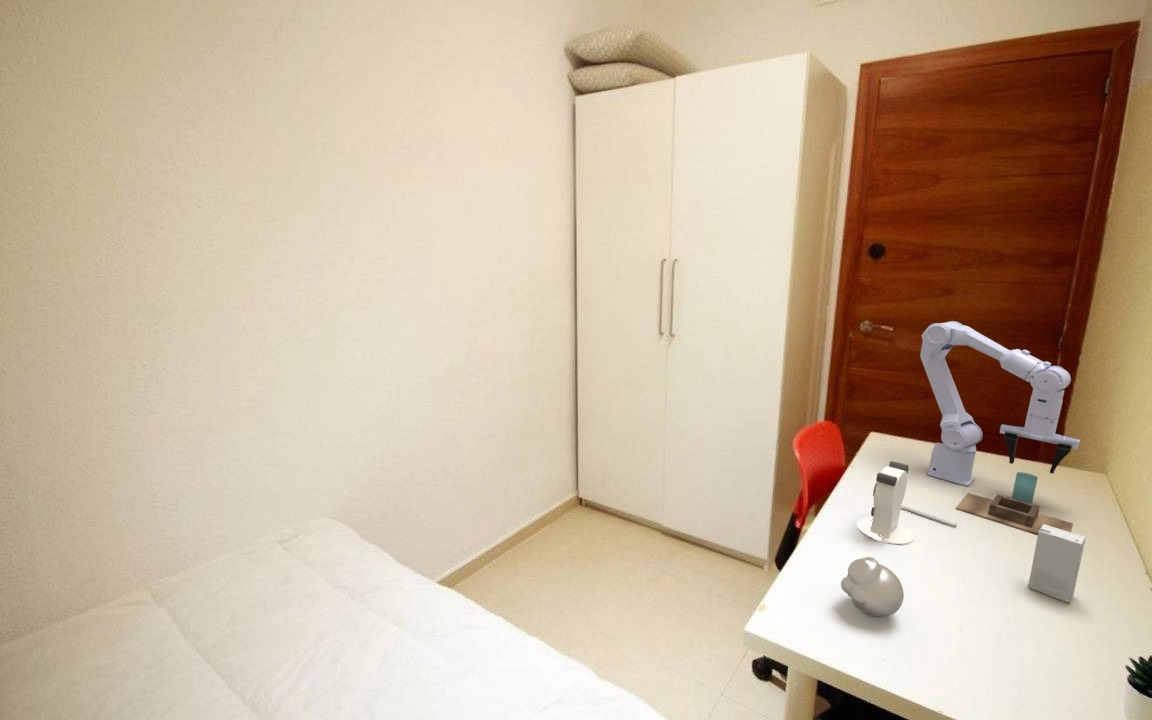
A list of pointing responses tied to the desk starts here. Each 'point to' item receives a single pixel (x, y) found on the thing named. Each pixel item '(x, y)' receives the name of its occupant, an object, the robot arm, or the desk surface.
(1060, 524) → the peg stand
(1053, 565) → the skincare box
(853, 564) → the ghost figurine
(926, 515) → the light grey rod
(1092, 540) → the desk surface
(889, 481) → the white tall piece
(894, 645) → the desk surface
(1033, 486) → the teal peg
